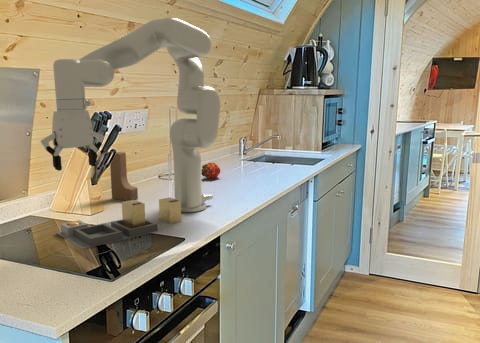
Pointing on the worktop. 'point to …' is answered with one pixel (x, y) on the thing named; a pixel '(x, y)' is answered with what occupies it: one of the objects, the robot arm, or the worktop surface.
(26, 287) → the worktop surface
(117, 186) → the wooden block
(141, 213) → the block
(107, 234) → the grey compartment tray
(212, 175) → the red bumpy rounded lump
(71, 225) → the button
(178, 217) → the block
